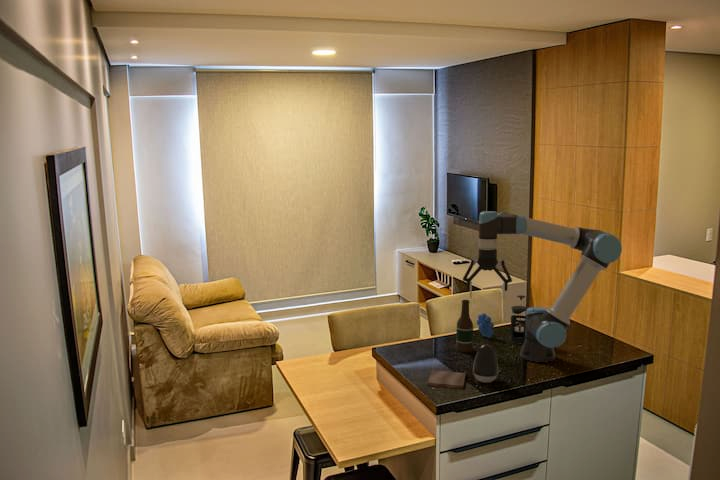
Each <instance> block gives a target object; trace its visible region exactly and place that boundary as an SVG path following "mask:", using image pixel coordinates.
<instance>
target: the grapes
mask: <svg viewBox="0 0 720 480" xmlns="http://www.w3.org/2000/svg"><path fill="white" fill-rule="evenodd" d="M476 324H477V326H478V329H477V330H478V331H479V333H481V335H482V337H484V338H488V339H491V338H492V335H494V334H495V330H494V327H495V325H494V323H493V322H492V318H491V317H490V316H489V315H487V314H486V313H484V312H483V313H482V314H479V315H478V316H477V320H476Z"/></svg>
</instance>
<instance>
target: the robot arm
mask: <svg viewBox="0 0 720 480" xmlns="http://www.w3.org/2000/svg"><path fill="white" fill-rule="evenodd" d="M478 216H479V217H478V259H474V258H471V259H470V264H469V266H468V268H467V270H466V271H465V274H464V276H463V277H462V281H463V282H466V284H467V285H466V289H467V290H468V291H469V298H470V299H472V294H473V293H472V291H473V289H472V288H473V284H472V283H473V281H472V280H473V279H474V278H475V277H476V276H477V275H478V274H479V273H480V272H481V270H483V271H489V272H490V271H494V272H495V273H496V274H497V276H499V278H500V279H501V280H502V293H501V294H502V300H505V296H506V295H505V294H506V293H505V292H507V291H508V284H509V283H512V282H513V278H512V277H511V275H510V273H509V271H508V269H507V267H506V264H505V260H504V259H503V258H502V259H500V260H498V249H497V247H498V235H525V236H529V237H533V238H537V239H542V240H545V241H550V242H554V243H558V244H563V245H567V246H569V248H571V249H575V250H578V251H580V252H581V253H580V258H581V259H580V262H579V263H578V265H577V266H576V268H575V269H574V271H573V272H572V274H571V276H570V277H569V279H568V281H567V282H566V284H565V285H564V287H563V289H562V290H561V292H560V293H559V294H558V296H557V298H556V299H555V301H554V303H553V304H552V306H551V307H542V306H541V307H540V306H532V307H529V308H528V309H527V311H525V316H526V319H525V320H526V327H525V341H524V343H523V344H522V346H521V349H520V353H519V354H520V358H521V357H522V358H521V359H523V358H524V359H523V360H525V359H526V360H525V361H527V360H530V361H529V362H531V361H538V362H545V361H551V360H553V359H555V360H556V352H555V349H554V348H558V347H560V346H562V344H564V343H565V341H566V340H567V335H568V334H567V330H568V329H569V327H570V325H571V321H570V318H571V317H572V315H573V313H574V312H575V311H576V309H577V308H578V306H579V304H580V303H581V302H582V300H583V298H584V297H585V295H586V294H587V292H588V291H589V289H590V288H591V286H592V284H593V283H594V281H595V280H596V278H597V276H598V275H599V274H600V273H601V271H605V270H606V269H608V267H609V265H610V264H612V263H614V262H615V261H617V260H619V258H620V257H621V255H622V249H623V248H622V247H623V246H622V243H621V240H620V239H619V238H618V237H616V236H615V235H614V234H612V233H610V232H606V231H603V230H600V229H595V228H594V229H593V228H584V227H583V228H582V227H579V226H575V227H568V226H565V225H560V224H556V223H551V222H547V221H544V220H539V219H534V218H531V217H525V216H524V215H517V214H513V213H509V212H506V211H501V212H499V213H498V212H497V211H492V210H491V211H489V210H483V211H481V212H480V213H479V215H478ZM476 264H478V267H477V268H476V269H475V270H474V271H473V272H472V273H471V271H472V269H473V267H474V266H475V265H476ZM498 264H499V266H501V268H502V269H503V271H504V274H505V276H506V277H505V276H504V275H503V274H502V272H501V271H500V270H499V269H498V268H497V265H498ZM470 273H471V275H470ZM469 275H470V276H469ZM468 276H469V277H468Z"/></svg>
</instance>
